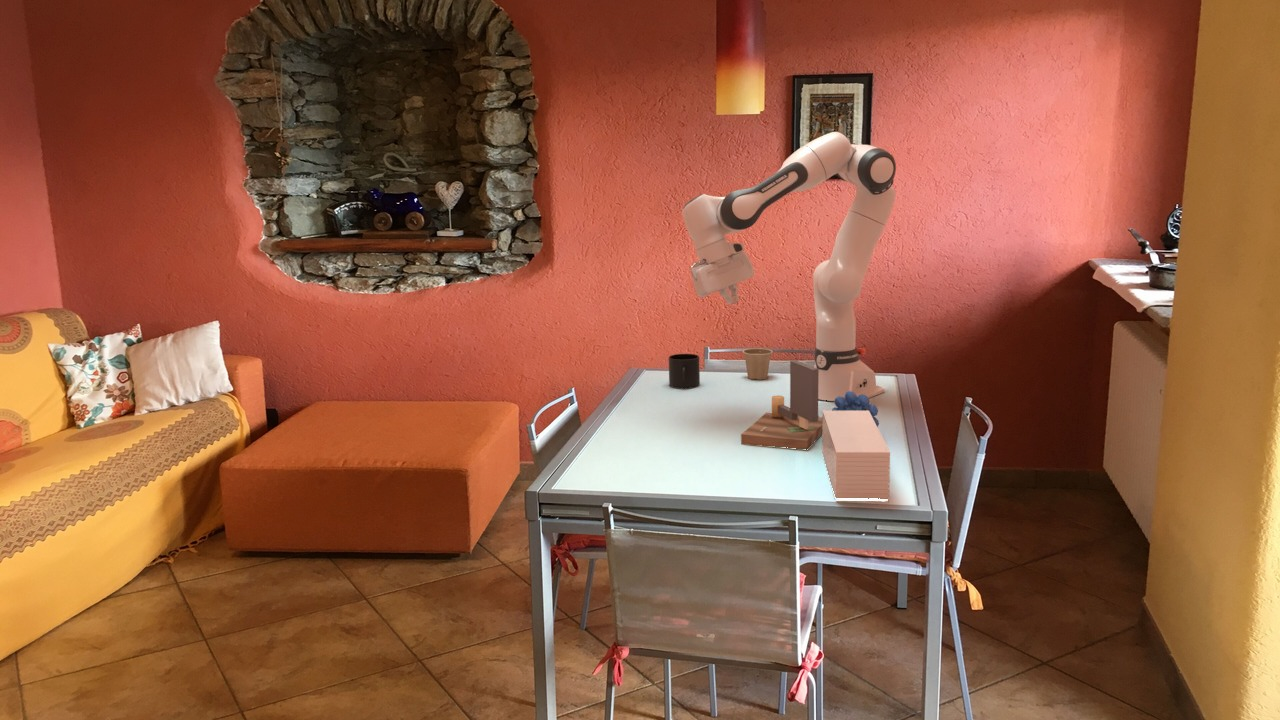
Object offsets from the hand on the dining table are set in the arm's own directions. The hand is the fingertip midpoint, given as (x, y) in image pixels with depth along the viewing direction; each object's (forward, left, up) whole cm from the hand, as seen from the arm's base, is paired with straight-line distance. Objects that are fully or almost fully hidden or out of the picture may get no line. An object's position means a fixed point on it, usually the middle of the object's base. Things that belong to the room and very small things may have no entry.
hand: (733, 303), depth 258 cm
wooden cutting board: (+4, +24, -31) cm, 39 cm away
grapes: (-6, +38, -31) cm, 49 cm away
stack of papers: (+14, +56, -31) cm, 66 cm away
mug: (-9, -34, -31) cm, 47 cm away
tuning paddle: (+2, +25, -28) cm, 38 cm away
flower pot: (-33, -27, -31) cm, 53 cm away
